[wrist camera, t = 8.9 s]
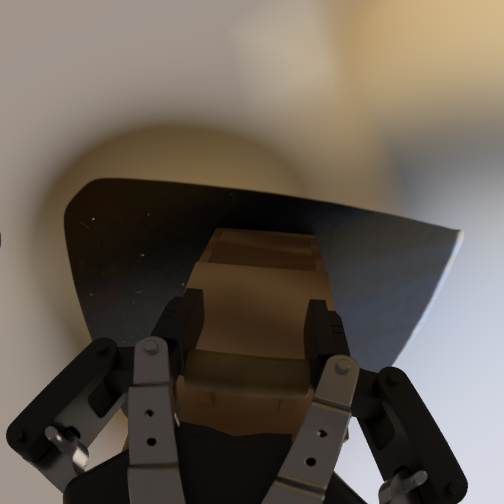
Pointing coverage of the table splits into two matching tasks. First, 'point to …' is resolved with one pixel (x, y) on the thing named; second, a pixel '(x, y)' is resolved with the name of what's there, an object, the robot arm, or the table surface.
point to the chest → (263, 249)
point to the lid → (251, 349)
